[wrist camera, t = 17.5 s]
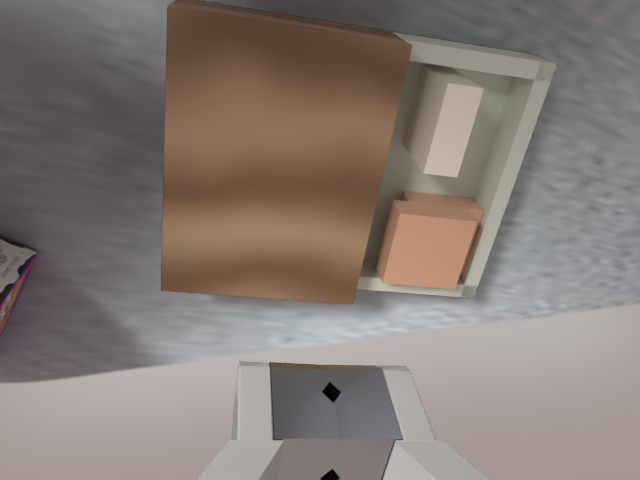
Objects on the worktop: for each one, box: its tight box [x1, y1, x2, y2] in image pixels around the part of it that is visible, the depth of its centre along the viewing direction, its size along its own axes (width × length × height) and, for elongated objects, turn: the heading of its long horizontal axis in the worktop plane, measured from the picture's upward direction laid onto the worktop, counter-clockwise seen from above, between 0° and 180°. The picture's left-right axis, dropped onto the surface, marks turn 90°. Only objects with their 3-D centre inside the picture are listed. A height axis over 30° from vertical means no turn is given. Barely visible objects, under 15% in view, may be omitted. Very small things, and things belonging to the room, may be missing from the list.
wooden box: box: [161, 0, 413, 304], centre depth 32 cm, size 16×12×5 cm
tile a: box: [402, 64, 484, 177], centre depth 31 cm, size 5×5×2 cm
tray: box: [357, 32, 557, 298], centre depth 34 cm, size 16×9×3 cm, turn 171°
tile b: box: [376, 200, 478, 289], centre depth 34 cm, size 5×5×2 cm
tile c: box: [401, 191, 484, 275], centre depth 36 cm, size 5×5×2 cm
